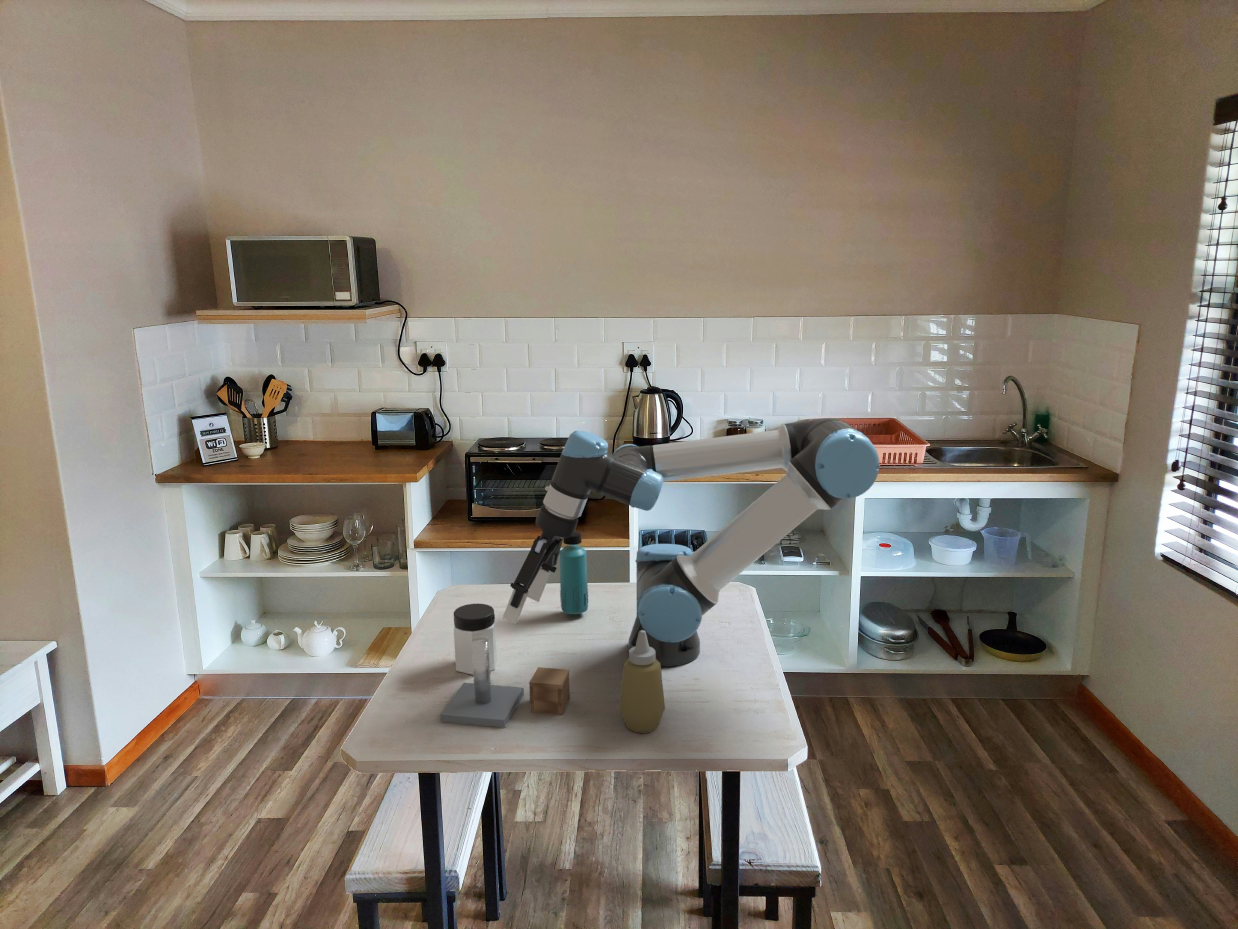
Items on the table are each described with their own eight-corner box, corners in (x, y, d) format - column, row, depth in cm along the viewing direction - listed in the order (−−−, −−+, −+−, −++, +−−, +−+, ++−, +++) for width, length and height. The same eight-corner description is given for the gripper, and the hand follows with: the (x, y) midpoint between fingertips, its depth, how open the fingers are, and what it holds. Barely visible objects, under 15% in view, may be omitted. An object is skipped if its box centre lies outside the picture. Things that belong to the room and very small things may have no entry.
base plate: (523, 694, 165) (523, 687, 164) (504, 727, 153) (504, 720, 153) (464, 689, 167) (463, 682, 166) (440, 721, 155) (440, 714, 155)
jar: (464, 679, 171) (461, 623, 168) (448, 663, 177) (445, 609, 174) (505, 667, 176) (503, 612, 173) (488, 652, 182) (485, 599, 179)
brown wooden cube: (569, 698, 163) (569, 669, 162) (562, 714, 157) (561, 685, 156) (539, 696, 164) (538, 667, 163) (530, 712, 158) (529, 682, 157)
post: (493, 697, 161) (490, 637, 158) (488, 705, 158) (485, 645, 155) (478, 695, 161) (475, 636, 158) (472, 703, 158) (469, 643, 156)
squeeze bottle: (650, 742, 148) (650, 645, 144) (611, 729, 152) (610, 635, 148) (673, 721, 155) (673, 628, 151) (634, 709, 159) (634, 618, 155)
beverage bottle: (588, 620, 198) (586, 537, 193) (559, 620, 198) (556, 537, 193) (589, 609, 204) (588, 528, 199) (561, 609, 204) (559, 528, 199)
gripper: (561, 490, 174) (525, 582, 178) (521, 516, 150) (480, 621, 154) (595, 506, 173) (557, 598, 177) (559, 534, 148) (517, 639, 153)
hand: (521, 609), depth 166 cm, fingers open, 13 cm apart
